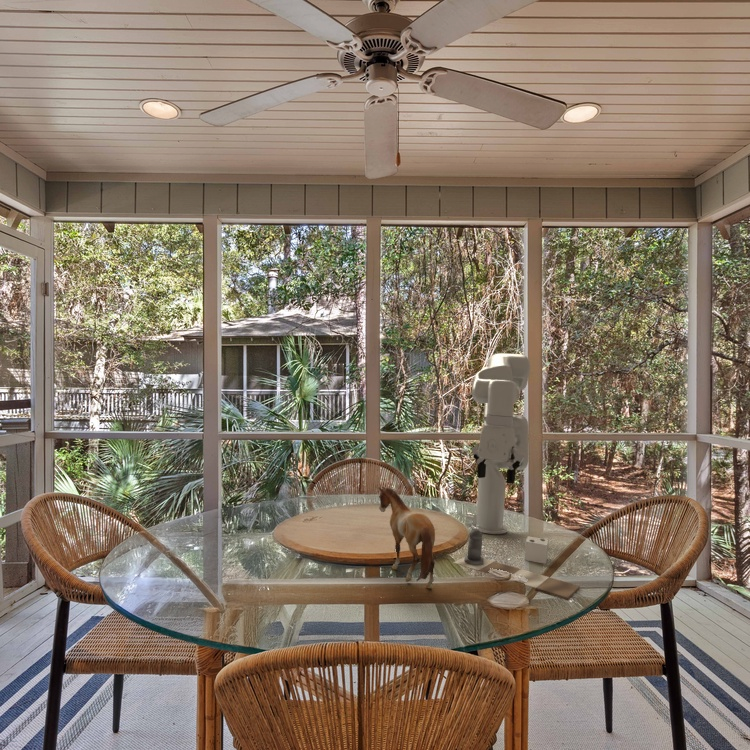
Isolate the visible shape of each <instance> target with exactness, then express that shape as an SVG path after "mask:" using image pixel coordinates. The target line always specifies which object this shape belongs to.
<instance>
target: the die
mask: <svg viewBox="0 0 750 750" xmlns="http://www.w3.org/2000/svg"><path fill="white" fill-rule="evenodd" d="M524 546H525V548H524V549H525V550H524V561H529V562H534V563H540V564H544V565H546V564H547V561H548V554H549V553H548V551H549V539H546V538H541V537H540V538H539V537H535V536H527V537H526V540H525V545H524Z"/></svg>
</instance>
